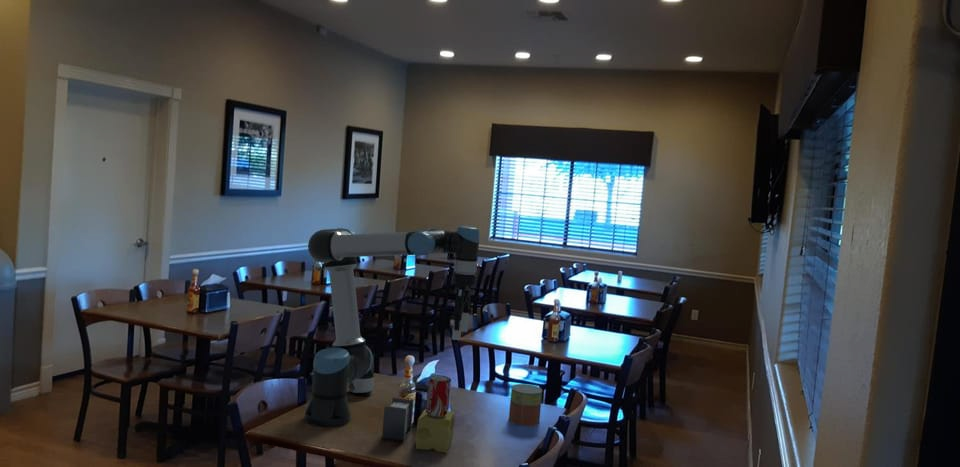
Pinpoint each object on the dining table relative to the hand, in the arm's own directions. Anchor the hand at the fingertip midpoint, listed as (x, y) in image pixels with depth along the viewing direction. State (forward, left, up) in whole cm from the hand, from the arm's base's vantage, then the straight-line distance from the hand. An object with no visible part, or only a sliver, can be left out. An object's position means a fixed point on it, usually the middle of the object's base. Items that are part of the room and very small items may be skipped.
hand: (459, 335), depth 232 cm
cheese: (-3, -15, -33) cm, 36 cm away
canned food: (+23, +19, -33) cm, 44 cm away
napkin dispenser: (-16, -12, -33) cm, 38 cm away
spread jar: (-43, +25, -33) cm, 60 cm away
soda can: (-3, -15, -23) cm, 28 cm away
